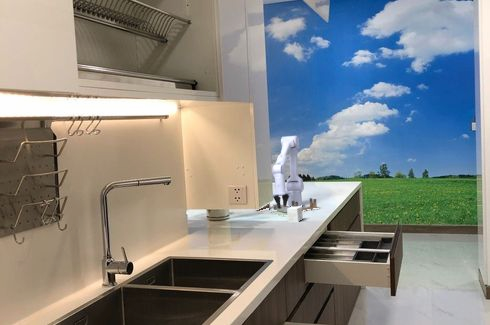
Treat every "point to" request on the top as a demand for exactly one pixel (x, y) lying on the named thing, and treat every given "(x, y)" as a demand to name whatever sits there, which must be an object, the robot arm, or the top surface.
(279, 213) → the mat
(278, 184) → the robot arm
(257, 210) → the food container
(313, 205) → the stand
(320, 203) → the top surface
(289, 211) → the product box
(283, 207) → the rail
